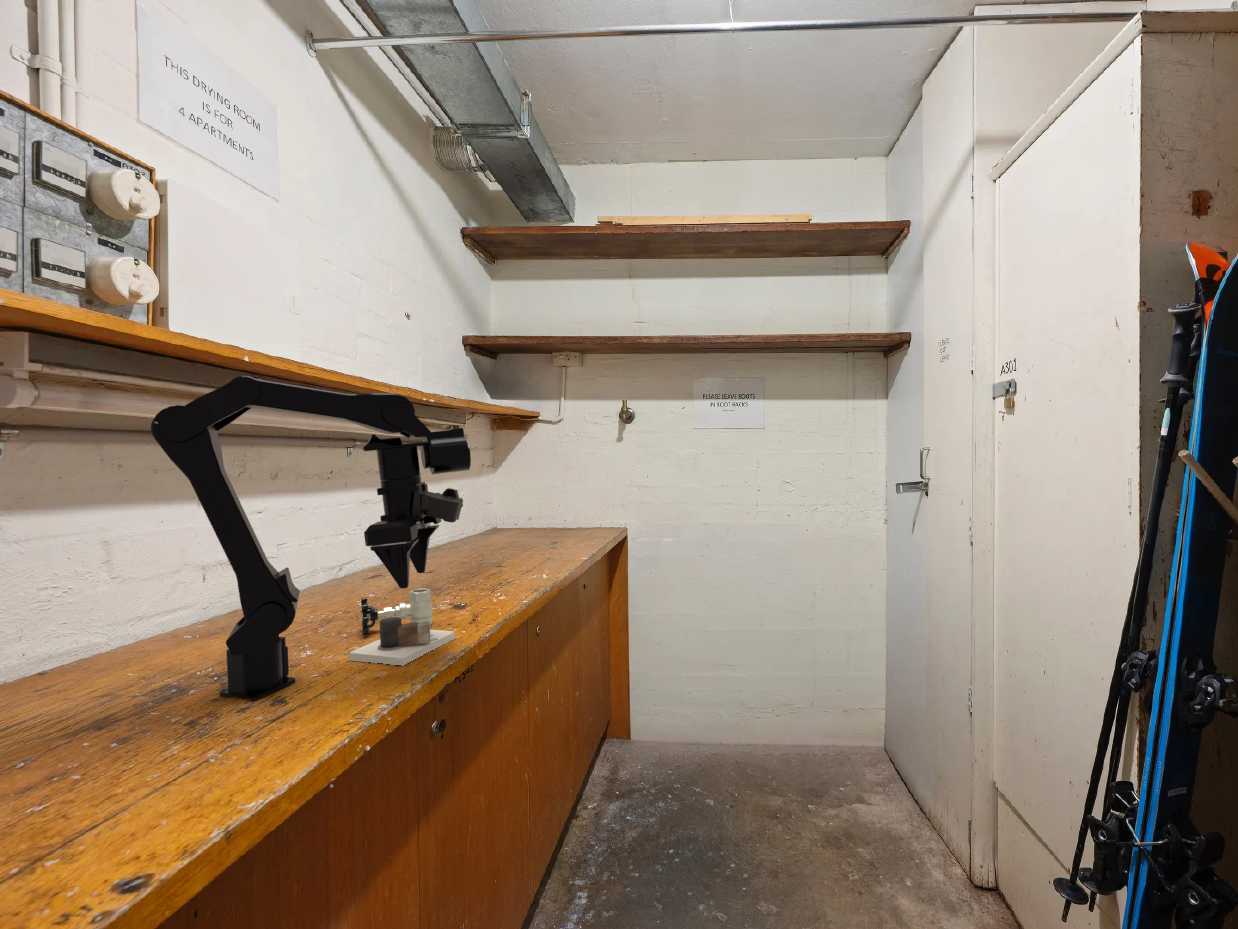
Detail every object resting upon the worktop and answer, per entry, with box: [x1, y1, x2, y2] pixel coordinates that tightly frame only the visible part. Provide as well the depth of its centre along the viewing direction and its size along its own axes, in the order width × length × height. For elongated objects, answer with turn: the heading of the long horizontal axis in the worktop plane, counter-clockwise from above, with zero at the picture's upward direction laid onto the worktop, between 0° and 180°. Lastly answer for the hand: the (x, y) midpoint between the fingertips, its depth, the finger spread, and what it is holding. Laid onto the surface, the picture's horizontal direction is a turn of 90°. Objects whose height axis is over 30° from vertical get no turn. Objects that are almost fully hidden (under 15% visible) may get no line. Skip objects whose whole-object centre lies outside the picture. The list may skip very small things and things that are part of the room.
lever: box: [379, 616, 431, 647], centre depth 90 cm, size 7×3×4 cm, turn 101°
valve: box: [360, 587, 433, 636], centre depth 103 cm, size 7×7×12 cm
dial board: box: [348, 629, 456, 667], centre depth 92 cm, size 13×10×1 cm
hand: (413, 580), depth 86 cm, fingers open, 9 cm apart
